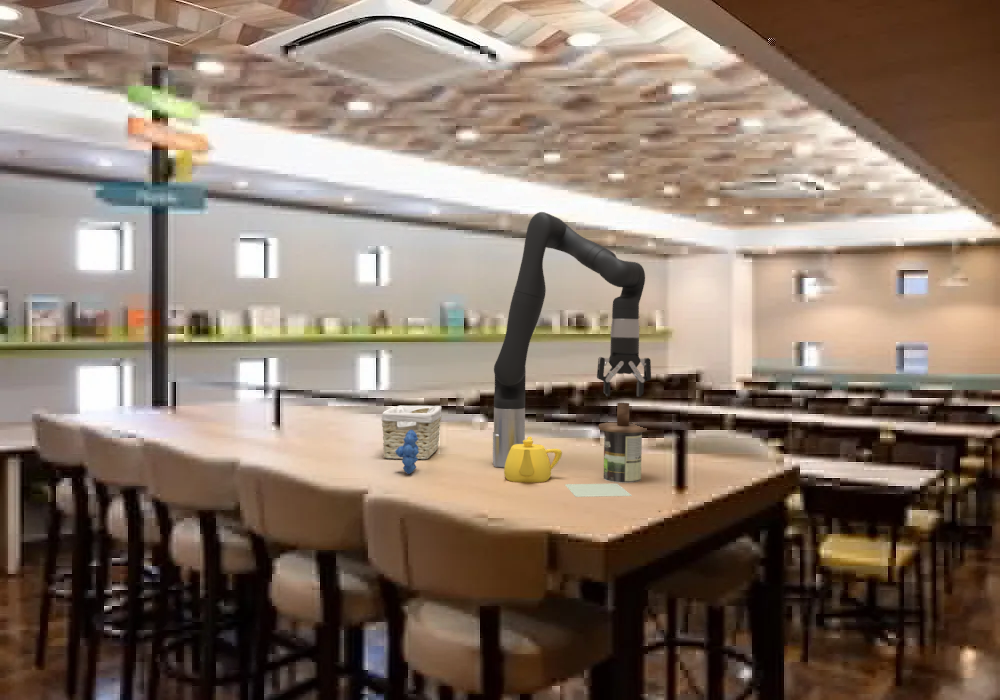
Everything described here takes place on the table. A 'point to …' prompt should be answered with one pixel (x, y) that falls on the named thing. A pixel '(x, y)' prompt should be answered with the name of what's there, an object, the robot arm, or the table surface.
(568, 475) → the table surface
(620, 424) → the lid
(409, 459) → the grapes
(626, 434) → the coffee can
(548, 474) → the teapot
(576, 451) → the table surface
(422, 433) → the storage basket
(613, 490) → the mat
